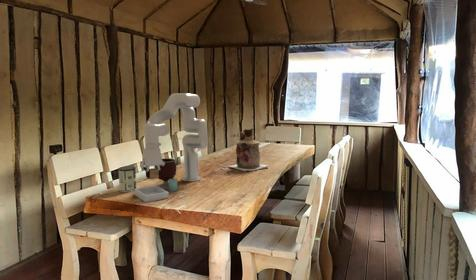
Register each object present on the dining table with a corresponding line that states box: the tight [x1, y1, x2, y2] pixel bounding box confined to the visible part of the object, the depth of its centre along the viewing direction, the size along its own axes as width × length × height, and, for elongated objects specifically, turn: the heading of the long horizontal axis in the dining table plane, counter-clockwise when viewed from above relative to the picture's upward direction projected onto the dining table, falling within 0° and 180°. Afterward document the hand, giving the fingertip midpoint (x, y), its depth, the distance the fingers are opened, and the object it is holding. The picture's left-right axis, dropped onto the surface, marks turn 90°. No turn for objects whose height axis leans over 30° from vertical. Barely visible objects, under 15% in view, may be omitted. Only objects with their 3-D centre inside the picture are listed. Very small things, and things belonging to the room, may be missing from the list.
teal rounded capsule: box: [168, 177, 178, 192], centre depth 228 cm, size 5×5×7 cm
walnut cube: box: [149, 167, 159, 180], centre depth 210 cm, size 5×5×5 cm
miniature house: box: [117, 165, 137, 193], centre depth 229 cm, size 10×10×14 cm
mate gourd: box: [153, 157, 177, 190], centre depth 238 cm, size 16×14×20 cm
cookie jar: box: [227, 128, 269, 172], centre depth 293 cm, size 25×25×32 cm
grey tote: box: [134, 185, 170, 203], centre depth 216 cm, size 18×14×4 cm
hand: (152, 177), depth 211 cm, fingers closed on walnut cube, 5 cm apart
